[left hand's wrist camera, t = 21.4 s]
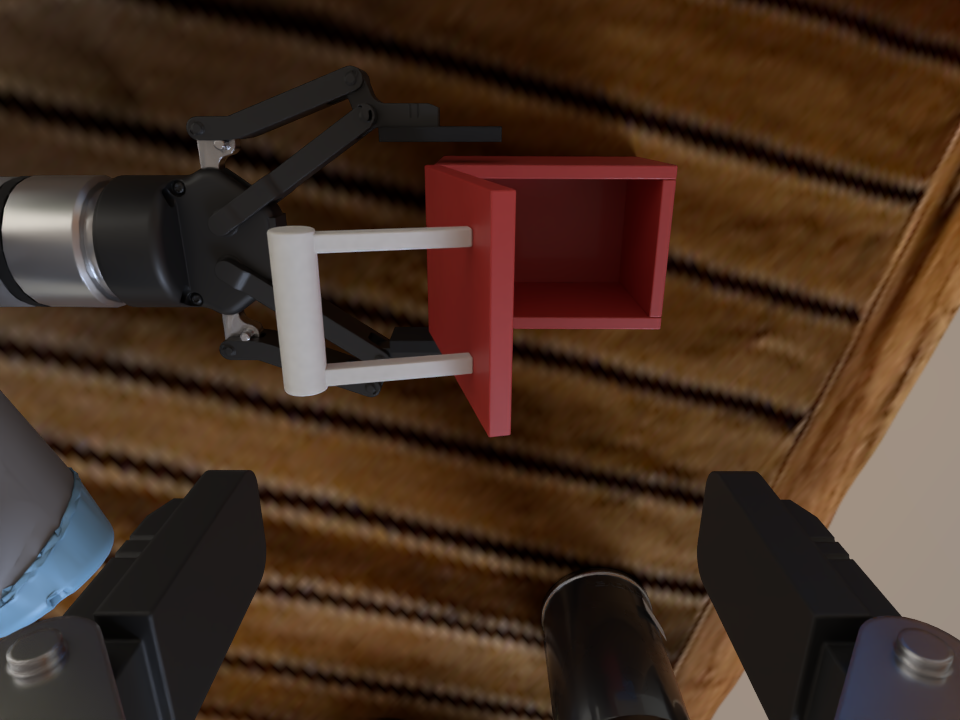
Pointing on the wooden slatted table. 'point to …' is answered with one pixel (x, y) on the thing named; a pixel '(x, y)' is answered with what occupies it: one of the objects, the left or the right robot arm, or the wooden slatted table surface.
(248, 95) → the wooden slatted table surface
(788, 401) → the wooden slatted table surface
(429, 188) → the lid
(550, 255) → the chest
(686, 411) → the wooden slatted table surface
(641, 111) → the wooden slatted table surface
